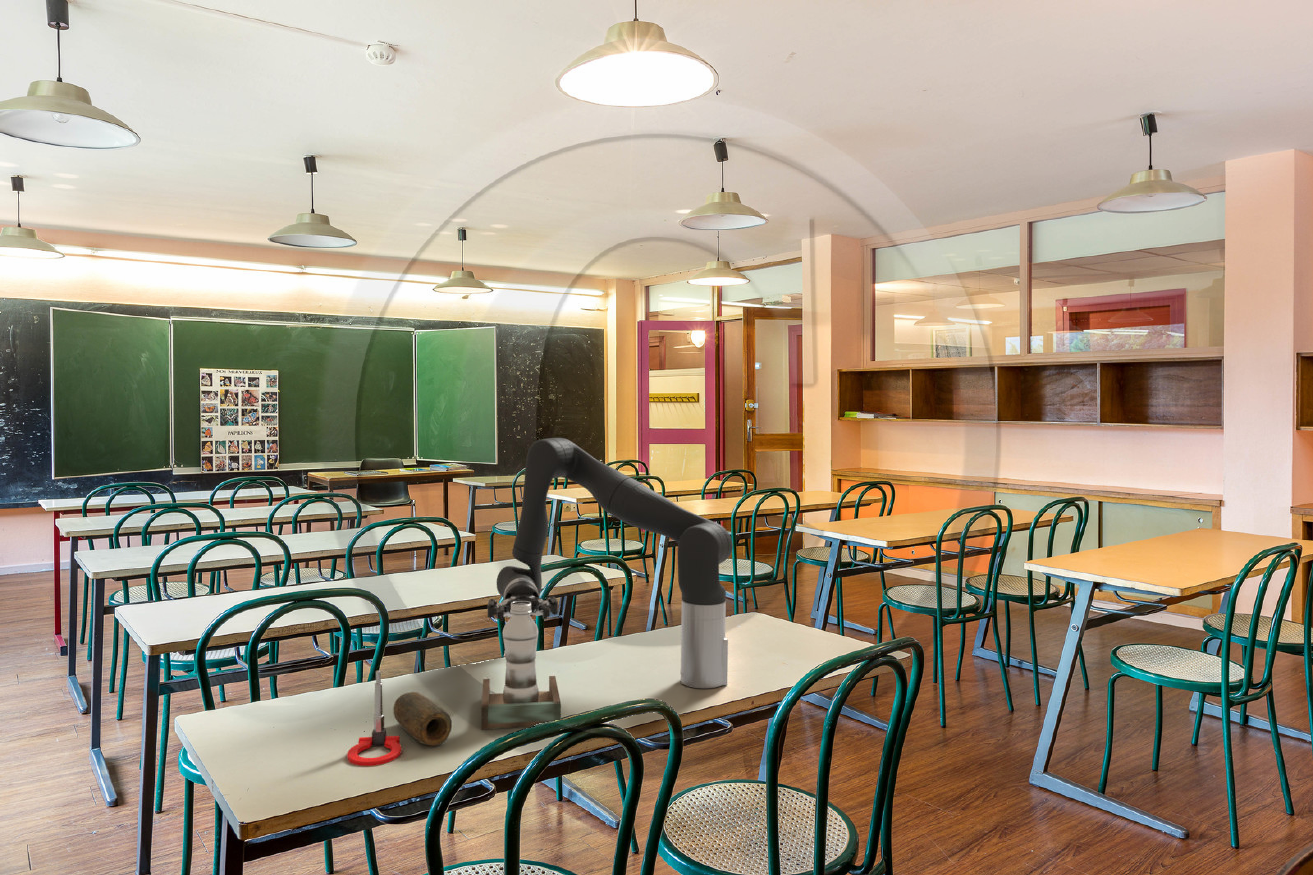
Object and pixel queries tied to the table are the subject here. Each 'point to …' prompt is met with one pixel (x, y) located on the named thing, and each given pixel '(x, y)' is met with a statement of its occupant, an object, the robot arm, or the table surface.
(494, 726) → the bay
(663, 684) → the table surface
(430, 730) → the brown wooden tube
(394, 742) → the tow hook
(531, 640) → the plastic bottle
